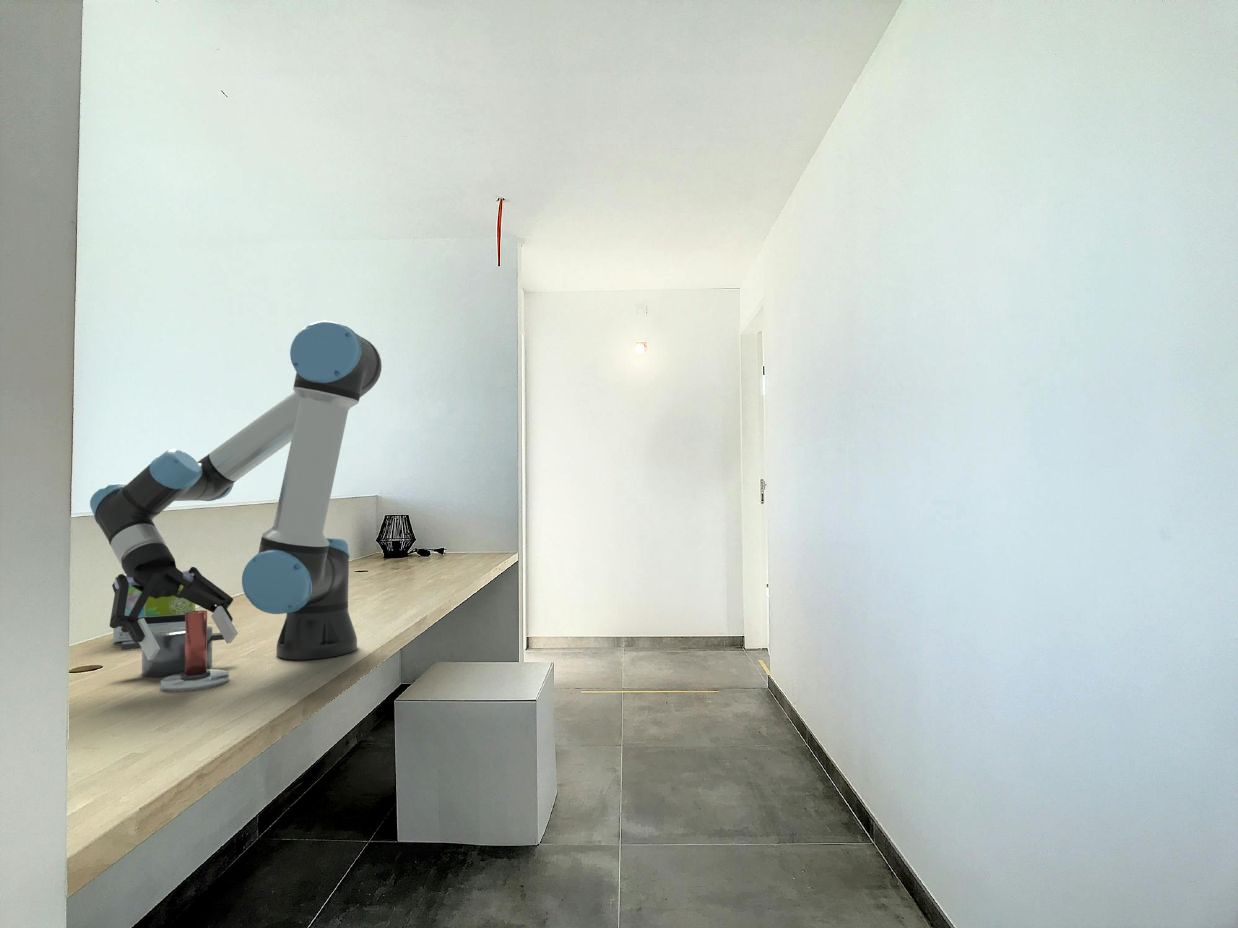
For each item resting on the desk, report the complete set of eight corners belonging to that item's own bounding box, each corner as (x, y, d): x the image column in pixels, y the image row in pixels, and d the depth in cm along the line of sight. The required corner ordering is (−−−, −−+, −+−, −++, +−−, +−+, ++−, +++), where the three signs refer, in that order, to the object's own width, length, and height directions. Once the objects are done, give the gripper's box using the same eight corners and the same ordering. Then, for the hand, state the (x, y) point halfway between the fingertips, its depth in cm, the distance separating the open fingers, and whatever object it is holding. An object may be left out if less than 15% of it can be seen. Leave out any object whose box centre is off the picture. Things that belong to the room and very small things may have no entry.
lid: (241, 676, 124) (242, 607, 125) (203, 692, 114) (204, 617, 115) (188, 675, 125) (189, 607, 126) (145, 691, 115) (147, 617, 116)
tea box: (112, 644, 153) (113, 576, 153) (120, 635, 162) (121, 571, 162) (192, 636, 160) (193, 571, 160) (195, 629, 169) (196, 567, 169)
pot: (228, 657, 139) (229, 621, 139) (231, 669, 129) (231, 630, 130) (124, 669, 130) (124, 631, 130) (118, 682, 120) (119, 641, 121)
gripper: (201, 562, 139) (251, 645, 132) (55, 577, 117) (106, 677, 109) (219, 536, 137) (270, 619, 130) (74, 545, 114) (126, 646, 107)
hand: (195, 646), depth 120 cm, fingers open, 13 cm apart
